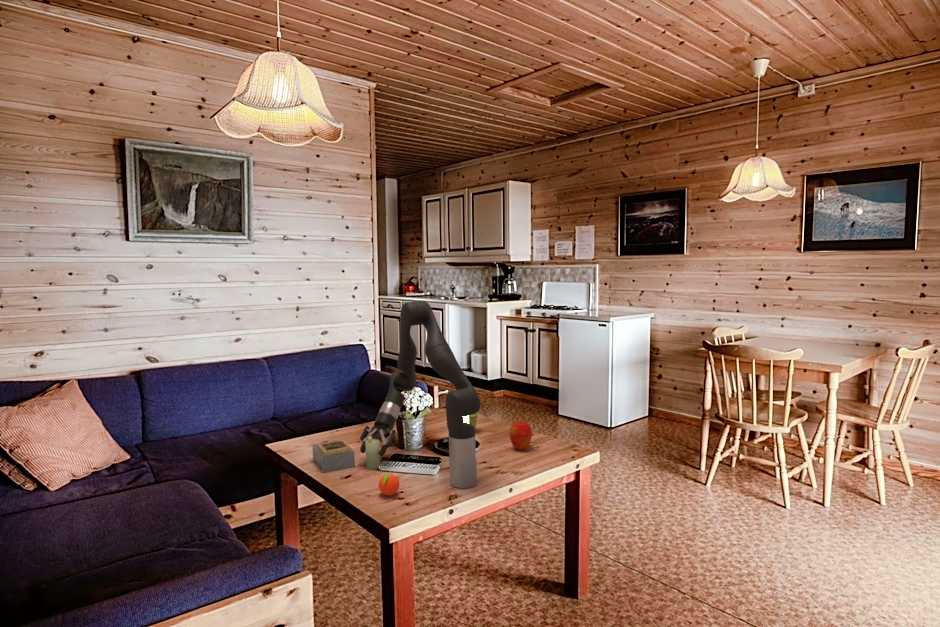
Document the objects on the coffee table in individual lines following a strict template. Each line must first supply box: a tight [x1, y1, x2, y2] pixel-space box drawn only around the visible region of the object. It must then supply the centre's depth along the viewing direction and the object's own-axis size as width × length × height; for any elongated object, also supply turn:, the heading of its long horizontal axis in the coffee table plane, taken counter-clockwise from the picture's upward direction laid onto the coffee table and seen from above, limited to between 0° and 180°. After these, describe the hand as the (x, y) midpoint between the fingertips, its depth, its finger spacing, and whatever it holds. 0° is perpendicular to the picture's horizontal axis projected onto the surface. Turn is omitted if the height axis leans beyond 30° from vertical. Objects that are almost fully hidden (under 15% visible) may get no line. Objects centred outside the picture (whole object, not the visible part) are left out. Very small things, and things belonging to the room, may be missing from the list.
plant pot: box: [470, 411, 479, 430], centre depth 254 cm, size 9×9×9 cm
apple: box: [508, 420, 533, 451], centre depth 231 cm, size 9×9×12 cm
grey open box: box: [311, 439, 356, 474], centre depth 220 cm, size 16×12×8 cm
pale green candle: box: [365, 436, 381, 470], centre depth 215 cm, size 5×5×12 cm
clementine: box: [378, 473, 400, 497], centre depth 190 cm, size 8×7×7 cm
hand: (371, 453), depth 214 cm, fingers open, 8 cm apart
